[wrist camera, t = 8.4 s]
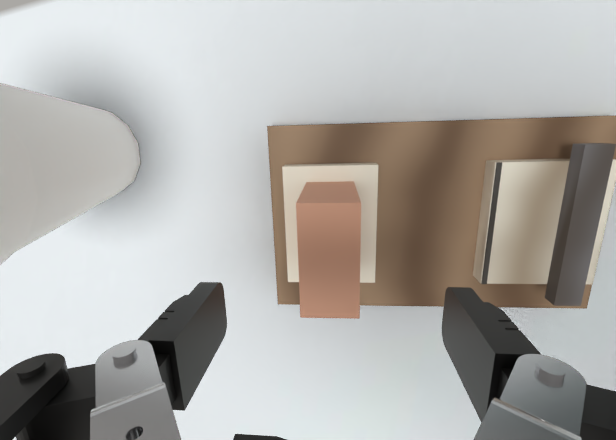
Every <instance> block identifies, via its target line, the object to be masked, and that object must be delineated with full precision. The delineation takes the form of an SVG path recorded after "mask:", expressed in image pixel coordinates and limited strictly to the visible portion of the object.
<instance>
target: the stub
mask: <svg viewBox="0 0 616 440" xmlns="http://www.w3.org/2000/svg"><path fill="white" fill-rule="evenodd" d="M282 172H283V192H284V212H285V232H286V252H287V273H288V282H299V293H300V317H305V318H359V315H360V283H375V266H376V231H377V196H378V164H377V163H341V164H293V165H284V166H283V167H282Z"/></svg>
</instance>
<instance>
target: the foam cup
mask: <svg viewBox="0 0 616 440" xmlns="http://www.w3.org/2000/svg"><path fill="white" fill-rule="evenodd" d="M140 164H141V162H140V154H139V146H138V142H137V141H136V139H135V137H134V135H133V133H132V132H131V130H130V128H129V126H128V125H127V124H126V123H124V122H123V121H122V120H121V119H119V118H118V117H117V116H116V115H114V114H113V113H112V112H109V111H106V110H102V109H98V108H94V107H90V106H87V105H83V104H79V103H75V102H71V101H67V100H64V99H60V98H56V97H52V96H48V95H44V94H41V93H37V92H33V91H29V90H25V89H21V88H18V87H14V86H10V85H6V84H2V83H0V265H1V264H2V263H3V262H4V261H5V260H6V259H8V258H9V257H10V256H11V255H12V254H13V253H14V252H16V251H17V250H19V249H21V248H23V247H25V246H26V245H28V244H30V243H32V242H33V241H35V240H37V239H39V238H40V237H42V236H44V235H46V234H48V233H49V232H51V231H53V230H55V229H56V228H58V227H60V226H62V225H64V224H65V223H67V222H69V221H71V220H72V219H74V218H76V217H78V216H79V215H81V214H83V213H85V212H87V211H88V210H90V209H92V208H94V207H95V206H97V205H99V204H101V203H103V202H104V201H106V200H108V199H110V198H111V197H113V196H115V195H117V194H118V193H119V192H121V191H123V190H124V189H125V188H126V187H127V186H129V185H130V184H131V183H132V182H133V181H134V180H135V178H136V175H137V172H138V169H139V166H140Z"/></svg>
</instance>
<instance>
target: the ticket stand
mask: <svg viewBox="0 0 616 440" xmlns="http://www.w3.org/2000/svg"><path fill="white" fill-rule="evenodd" d="M267 129H268V146H269V162H270V179H271V196H272V212H273V229H274V246H275V262H276V279H277V296H278V304H300V293H299V282H288V273H287V252H286V232H285V212H284V192H283V172H282V167H283V166H284V165H293V164H341V163H377V164H378V196H377V231H376V266H375V283H360V305H376V306H444V300H445V292H446V289H447V288H448V287H470V288H472V289H473V290H474V291H475V293H476V294H477V295H478V296H479V297H480V299H481V300H482V301H483V302H489V303H491V304H493V305H494V306H496V307H524V308H587V305H588V300H589V296H590V291H591V287H592V284H593V280H594V276H595V271H596V267H597V262H598V258H599V253H600V249H601V245H602V240H603V236H604V231H605V227H606V222H607V218H608V213H609V209H610V204H611V200H612V196H613V191H614V187H615V182H616V116H588V117H555V118H522V119H489V120H456V121H423V122H390V123H357V124H324V125H291V126H267Z"/></svg>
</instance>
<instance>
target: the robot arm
mask: <svg viewBox="0 0 616 440" xmlns="http://www.w3.org/2000/svg"><path fill="white" fill-rule="evenodd" d="M226 328H227V318H226V308H225V299H224V289H223V285H222V283H218V282H200V283H199V284H198V285H197V286H196V287H195V288H194V290H193V291H192V292H191V293H190V294H189V295H184V296H183V297H181V298H179V299H178V300H176V301H174V302H173V303H172V304H171V305H170V306H169V307H168V308H167V309H166V310H165V312H163V313H162V314H161V315H160V316H159V318H158V319H157V320H156V321H155V322H154V323H153V324H152V325H151V326H150V327H149V328H148V329H147V330H146V331H145V332H144V334H143V335H142V336H141V337H140V338H139V339H138V340H132V341H127V342H123V343H120V344H118V345H115V346H113V347H111V348H110V349H108V350H107V351H105V352H104V353H103V354H101V356H100V357H99V358H98V359H97V361H96V364H92V365H86V366H81V367H75V368H69V369H67V366H66V362H65V358H64V357H63V356H62V355H60V354H54V353H52V354H43V355H39V356H35V357H32V358H29V359H27V360H25V361H22V362H20V363H18V364H16V365H15V366H13V367H11V368H10V369H9V370H7V371H6V372H5V373H3V374H2V375H1V376H0V440H12V439H13V438H14V437H15V436H16V439H17V440H181V437H180V434H179V430H178V427H177V423H176V420H175V417H174V413H173V410H185V409H186V407H187V405H188V403H189V401H190V400H191V398H192V396H193V394H194V392H195V390H196V388H197V387H198V385H199V383H200V381H201V379H202V377H203V376H204V374H205V372H206V370H207V368H208V366H209V364H210V363H211V361H212V359H213V357H214V355H215V353H216V352H217V350H218V348H219V346H220V344H221V342H222V340H223V339H224V336H225V333H226ZM442 337H443V342H444V345H445V347H446V350H447V352H448V354H449V356H450V358H451V360H452V362H453V364H454V366H455V368H456V370H457V372H458V375H459V377H460V379H461V381H462V383H463V385H464V387H465V389H466V391H467V393H468V395H469V398H470V400H471V402H472V404H473V406H474V408H475V410H476V412H477V414H478V416H479V418H480V421H481V425H480V427H479V429H478V432H477V434H476V436H475V438H474V440H616V392H615V391H611V390H607V389H603V388H598V387H594V386H591V385H587V384H586V381H585V379H584V378H583V376H582V375H581V374H580V373H579V372H578V371H577V370H575V369H574V368H573V367H571V366H570V365H568V364H566V363H564V362H562V361H560V360H558V359H555V358H552V357H549V356H545V355H541V354H540V352H539V351H538V350H537V349H536V348H535V347H534V346H533V345H532V343H531V342H530V341H529V340H528V339H527V338H526V337H525V335H524V334H523V333H522V332H521V331H519V330H518V328H517V326H516V325H515V324H514V323H513V322H511V320H510V318H509V317H508V316H507V315H506V314H505V313H504V312H503V311H502V310H501V309H499V308H498V307H496V306H494V305H493V304H491V303H489V302H483V301H482V300H481V299H480V297H479V296H478V295H477V294H476V293H475V291H474V290H473V289H472V288H470V287H448V288H447V289H446V292H445V300H444V311H443V321H442ZM233 440H286V439H283V438H280V437H277V436H260V435H244V434H235V436H234V439H233Z"/></svg>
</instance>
